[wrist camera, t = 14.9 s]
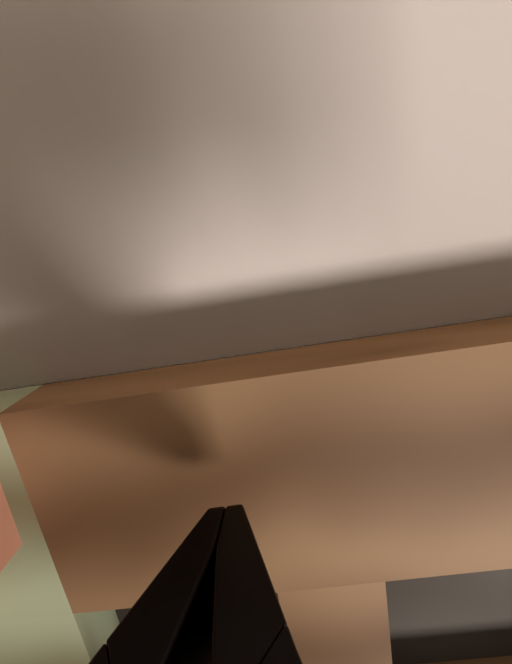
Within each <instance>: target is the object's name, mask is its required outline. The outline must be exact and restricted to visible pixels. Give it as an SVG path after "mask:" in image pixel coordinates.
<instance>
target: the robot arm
mask: <svg viewBox="0 0 512 664" xmlns="http://www.w3.org/2000/svg"><path fill="white" fill-rule="evenodd" d="M106 643H107V645H106V644H103V645H102V646H101V648H100V649H99V650H98V652H97V653H96V654H95V656H94V657H93V658H92V659H91V661H90V662H89V663H88V664H303V663H302V660H301V658H300V656H299V653H298V651H297V648H296V646H295V643H294V640H293V638H292V635H291V632H290V629H289V627H288V626H287V622H286V619H285V617H284V614H283V611H282V609H281V606H280V603H279V600H278V598H277V595H276V592H275V590H274V587H273V584H272V582H271V579H270V576H269V574H268V571H267V568H266V565H265V563H264V560H263V557H262V555H261V552H260V549H259V547H258V544H257V541H256V539H255V536H254V533H253V531H252V528H251V525H250V522H249V520H248V517H247V514H246V512H245V509H244V507H243V505H241V504H238V505H230V506H227V507H226V508H225V507H223V506H222V507H214V508H209V509H208V510H207V511H206V512H205V513H204V515H203V516H202V517H201V519H200V520H199V521H198V523H197V524H196V525H195V526H194V528H193V529H192V530H191V532H190V533H189V534H188V535H187V537H186V538H185V539H184V541H183V542H182V543H181V545H180V546H179V547H178V548H177V550H176V551H175V552H174V554H173V555H172V556H171V557H170V559H169V560H168V561H167V563H166V564H165V565H164V567H163V568H162V569H161V570H160V572H159V573H158V574H157V576H156V577H155V578H154V579H153V581H152V582H151V583H150V585H149V586H148V587H147V589H146V590H145V591H144V592H143V594H142V595H141V596H140V598H139V599H138V600H137V601H136V603H135V604H134V605H133V607H132V608H131V609H130V610H129V612H128V613H127V614H126V616H125V617H124V618H123V620H122V621H121V622H120V623H119V625H118V626H117V627H116V629H115V630H114V631H113V632H112V634H111V635H110V636H109V638H108V639H107V641H106Z"/></svg>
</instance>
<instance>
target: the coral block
mask: <svg viewBox="0 0 512 664" xmlns="http://www.w3.org/2000/svg"><path fill="white" fill-rule="evenodd" d="M21 546H22V541H21V539H20V536H19V533H18V530H17V527H16V525H15V522H14V519H13V516H12V514H11V511H10V508H9V505H8V502H7V500H6V497H5V494H4V491H3V489H2V486H1V483H0V572H1V571H2V569H3V568H4V567H5V566H6V564H7V563H8V562H9V561H10V559H11V558H12V557H13V556H14V554H15V553H16V552H17V551H18V549H19V548H20V547H21Z"/></svg>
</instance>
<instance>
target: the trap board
mask: <svg viewBox="0 0 512 664" xmlns="http://www.w3.org/2000/svg"><path fill="white" fill-rule="evenodd" d="M0 483H1V486H2V489H3V491H4V494H5V497H6V500H7V502H8V505H9V508H10V511H11V514H12V516H13V519H14V522H15V525H16V527H17V530H18V533H19V536H20V539H21V541H22V546H21V547H20V548H19V549H18V551H17V552H16V553H15V554H14V556H13V557H12V558H11V559H10V561H9V562H8V563H7V564H6V566H5V567H4V568H3V569H2V571H1V572H0V664H88V663H89V662H90V661H91V659H92V658H93V657H94V656H95V654H96V653H97V652H98V650H99V649H100V648H101V646H102V645H103V644H106V645H107V643H106V641H107V639H108V638H109V636H110V635H111V634H112V632H113V631H114V630H115V629H116V627H117V626H118V625H119V623H120V622H121V621H122V620H123V618H124V617H125V616H126V614H127V613H128V612H129V610H130V609H131V608H132V607H133V605H134V604H135V603H136V601H137V600H138V599H139V598H140V596H141V595H142V594H143V592H144V591H145V590H146V589H147V587H148V586H149V585H150V583H151V582H152V581H153V579H154V578H155V577H156V576H157V574H158V573H159V572H160V570H161V569H162V568H163V567H164V565H165V564H166V563H167V561H168V560H169V559H170V557H171V556H172V555H173V554H174V552H175V551H176V550H177V548H178V547H179V546H180V545H181V543H182V542H183V541H184V539H185V538H186V537H187V535H188V534H189V533H190V532H191V530H192V529H193V528H194V526H195V525H196V524H197V523H198V521H199V520H200V519H201V517H202V516H203V515H204V513H205V512H206V511H207V510H208V509H209V508H214V507H222V506H223V507H225V508H226V507H227V506H230V505H238V504H241V505H243V507H244V509H245V512H246V514H247V517H248V520H249V522H250V525H251V528H252V531H253V533H254V536H255V539H256V541H257V544H258V547H259V549H260V552H261V555H262V557H263V560H264V563H265V565H266V568H267V571H268V574H269V576H270V579H271V582H272V584H273V587H274V590H275V592H276V595H277V598H278V600H279V603H280V606H281V609H282V611H283V614H284V617H285V619H286V622H287V626H288V627H289V629H290V632H291V635H292V638H293V640H294V643H295V646H296V648H297V651H298V653H299V656H300V658H301V660H302V663H303V664H512V316H509V317H502V318H495V319H488V320H482V321H475V322H468V323H461V324H454V325H447V326H441V327H434V328H427V329H420V330H413V331H406V332H400V333H393V334H386V335H379V336H372V337H365V338H359V339H352V340H345V341H338V342H331V343H324V344H318V345H311V346H304V347H297V348H290V349H283V350H277V351H270V352H263V353H256V354H249V355H242V356H236V357H229V358H222V359H215V360H208V361H201V362H195V363H188V364H181V365H174V366H167V367H160V368H154V369H147V370H140V371H133V372H126V373H119V374H113V375H106V376H99V377H92V378H85V379H78V380H72V381H65V382H58V383H51V384H44V385H37V386H31V387H24V388H17V389H10V390H3V391H0Z"/></svg>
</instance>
